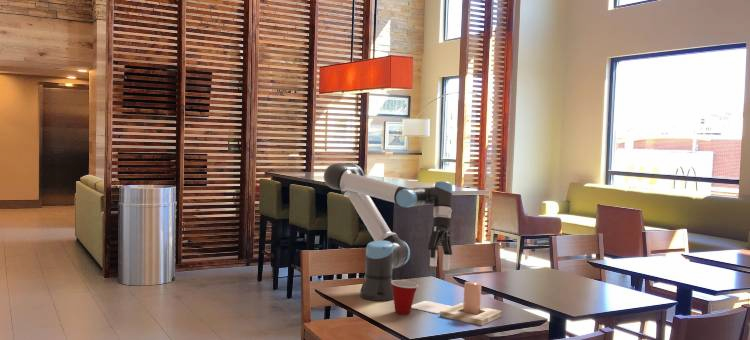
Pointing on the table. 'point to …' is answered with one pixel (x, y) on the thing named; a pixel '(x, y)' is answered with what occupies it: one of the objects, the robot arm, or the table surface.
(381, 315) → the table surface
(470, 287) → the terracotta canister
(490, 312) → the socket board
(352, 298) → the table surface
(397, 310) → the plastic cup
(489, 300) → the table surface
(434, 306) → the off-white pad
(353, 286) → the table surface
